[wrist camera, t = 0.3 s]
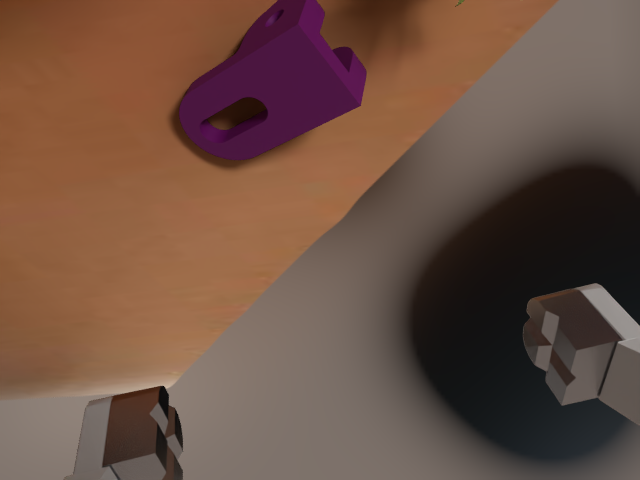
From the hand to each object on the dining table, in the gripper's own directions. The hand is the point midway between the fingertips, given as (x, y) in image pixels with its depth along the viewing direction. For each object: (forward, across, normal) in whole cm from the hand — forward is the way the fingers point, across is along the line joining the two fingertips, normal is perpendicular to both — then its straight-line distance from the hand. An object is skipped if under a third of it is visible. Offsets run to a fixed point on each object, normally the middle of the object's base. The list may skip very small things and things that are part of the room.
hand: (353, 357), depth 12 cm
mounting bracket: (+48, -1, +11) cm, 49 cm away
